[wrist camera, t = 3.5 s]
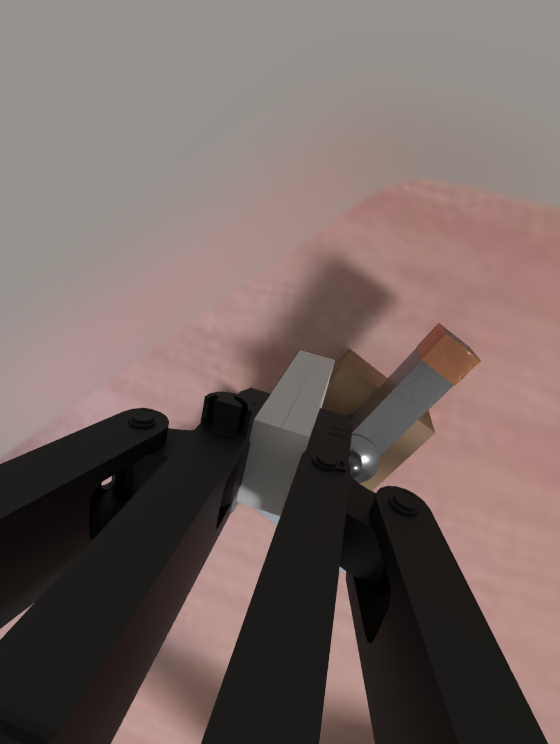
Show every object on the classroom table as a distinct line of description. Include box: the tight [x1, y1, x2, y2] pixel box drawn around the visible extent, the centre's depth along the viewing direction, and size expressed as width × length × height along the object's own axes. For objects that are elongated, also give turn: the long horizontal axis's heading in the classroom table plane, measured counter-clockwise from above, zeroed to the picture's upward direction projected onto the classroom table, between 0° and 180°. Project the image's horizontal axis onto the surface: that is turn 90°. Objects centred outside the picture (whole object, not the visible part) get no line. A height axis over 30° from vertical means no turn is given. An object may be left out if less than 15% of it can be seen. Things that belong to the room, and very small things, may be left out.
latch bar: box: [348, 323, 481, 483], centre depth 25 cm, size 12×4×4 cm, turn 145°
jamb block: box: [322, 350, 435, 491], centre depth 31 cm, size 8×8×4 cm
